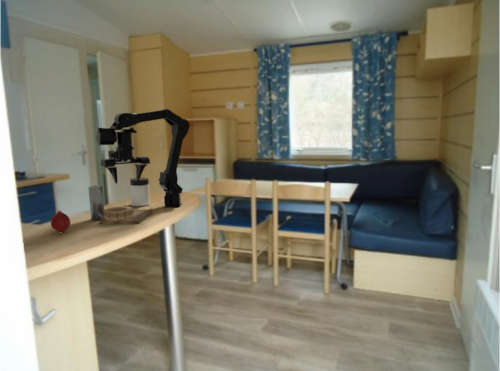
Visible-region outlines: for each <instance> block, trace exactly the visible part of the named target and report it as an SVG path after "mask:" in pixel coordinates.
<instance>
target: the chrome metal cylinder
mask: <svg viewBox="0 0 500 371" xmlns="http://www.w3.org/2000/svg"><path fill="white" fill-rule="evenodd" d="M88 198H89V210H90V220H91V221H94V222H95V221H96V222H97V221H99V222H100V220H102V219H104V210H105V200H104V187H103V185H97V184H95V185H89V186H88Z"/></svg>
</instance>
